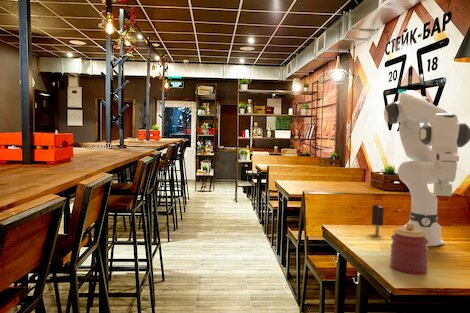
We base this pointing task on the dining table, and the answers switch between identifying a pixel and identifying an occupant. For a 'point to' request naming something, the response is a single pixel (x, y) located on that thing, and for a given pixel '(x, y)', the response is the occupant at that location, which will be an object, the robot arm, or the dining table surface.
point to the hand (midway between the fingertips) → (442, 190)
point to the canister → (409, 250)
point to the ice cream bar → (377, 217)
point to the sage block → (439, 193)
